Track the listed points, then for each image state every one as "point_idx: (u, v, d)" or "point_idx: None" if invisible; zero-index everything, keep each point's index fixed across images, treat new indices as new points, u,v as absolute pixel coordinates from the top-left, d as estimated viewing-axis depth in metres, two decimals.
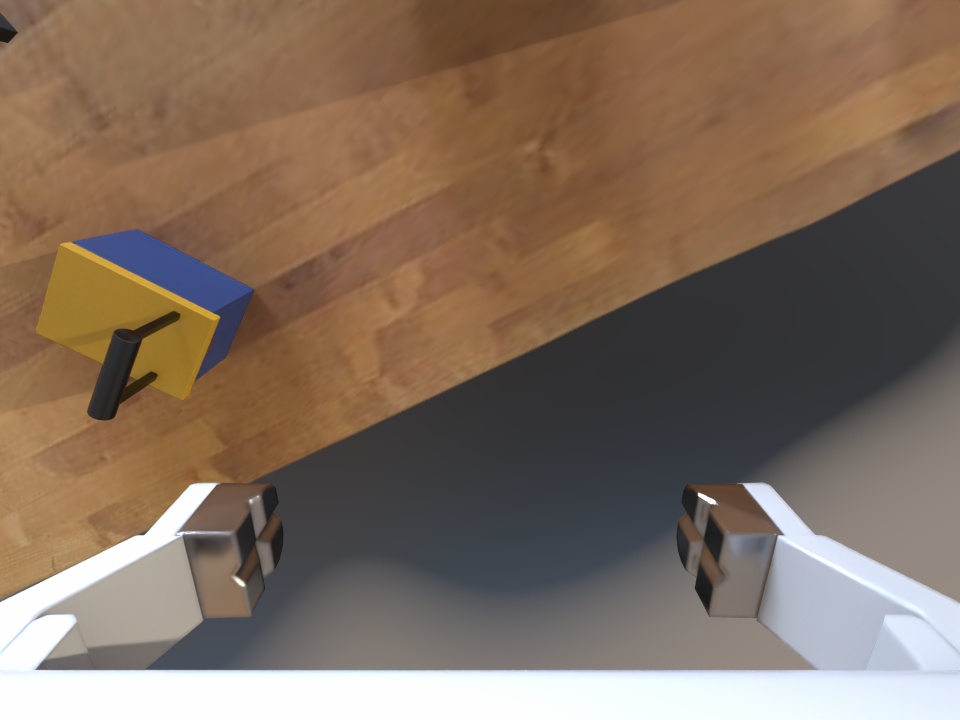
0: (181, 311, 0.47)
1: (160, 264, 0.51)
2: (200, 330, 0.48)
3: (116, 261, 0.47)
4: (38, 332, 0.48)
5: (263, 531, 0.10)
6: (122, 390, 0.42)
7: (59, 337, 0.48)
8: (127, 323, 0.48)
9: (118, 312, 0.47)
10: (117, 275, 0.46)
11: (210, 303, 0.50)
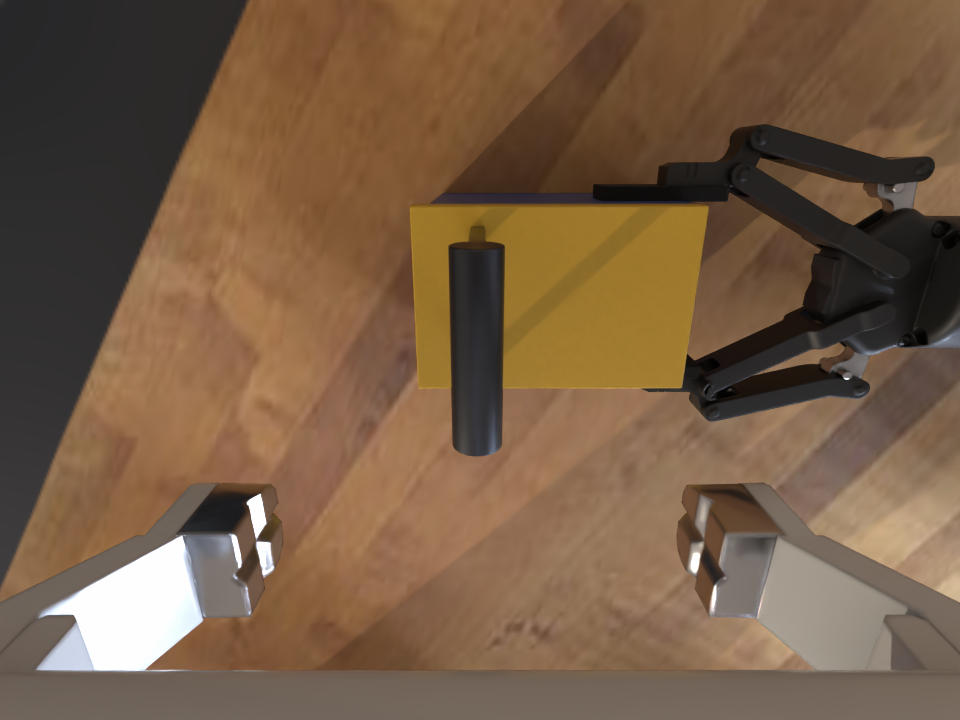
0: None
1: None
2: (432, 361, 0.27)
3: None
4: (702, 210, 0.24)
5: (263, 531, 0.10)
6: (450, 328, 0.19)
7: (662, 220, 0.24)
8: (551, 311, 0.26)
9: (569, 323, 0.26)
10: (584, 385, 0.27)
11: None
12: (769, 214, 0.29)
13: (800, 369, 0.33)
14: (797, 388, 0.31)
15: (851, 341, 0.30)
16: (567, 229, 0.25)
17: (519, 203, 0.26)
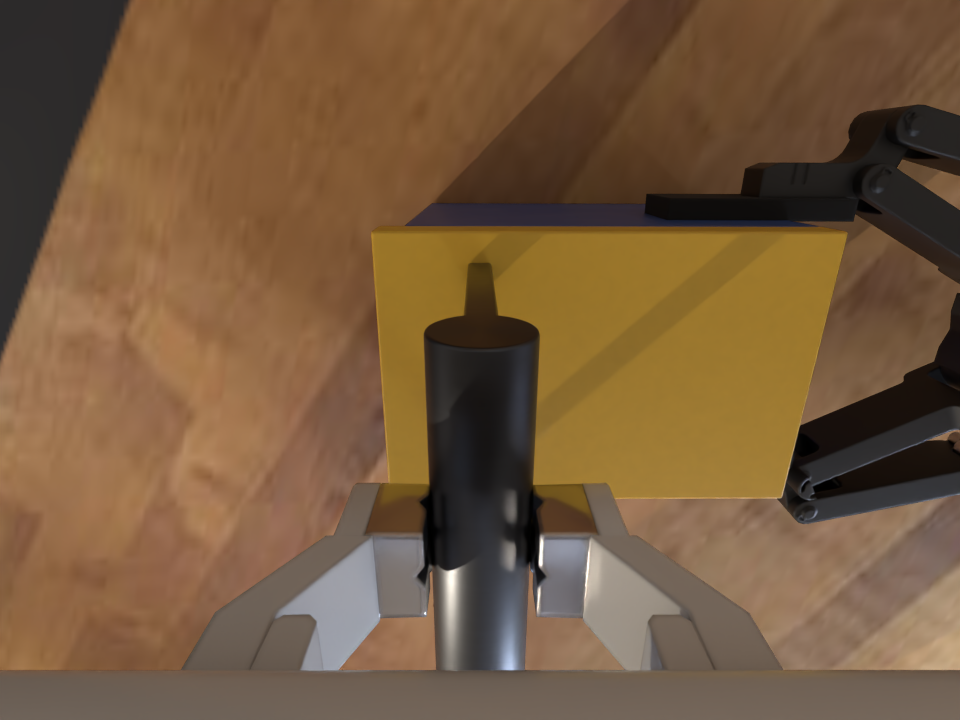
0: None
1: None
2: (409, 461, 0.18)
3: None
4: (837, 239, 0.15)
5: None
6: (429, 482, 0.10)
7: (772, 255, 0.15)
8: (591, 390, 0.17)
9: (619, 408, 0.17)
10: (638, 494, 0.18)
11: None
12: (900, 238, 0.20)
13: (924, 449, 0.24)
14: (928, 481, 0.22)
15: None
16: (621, 267, 0.16)
17: (544, 225, 0.17)
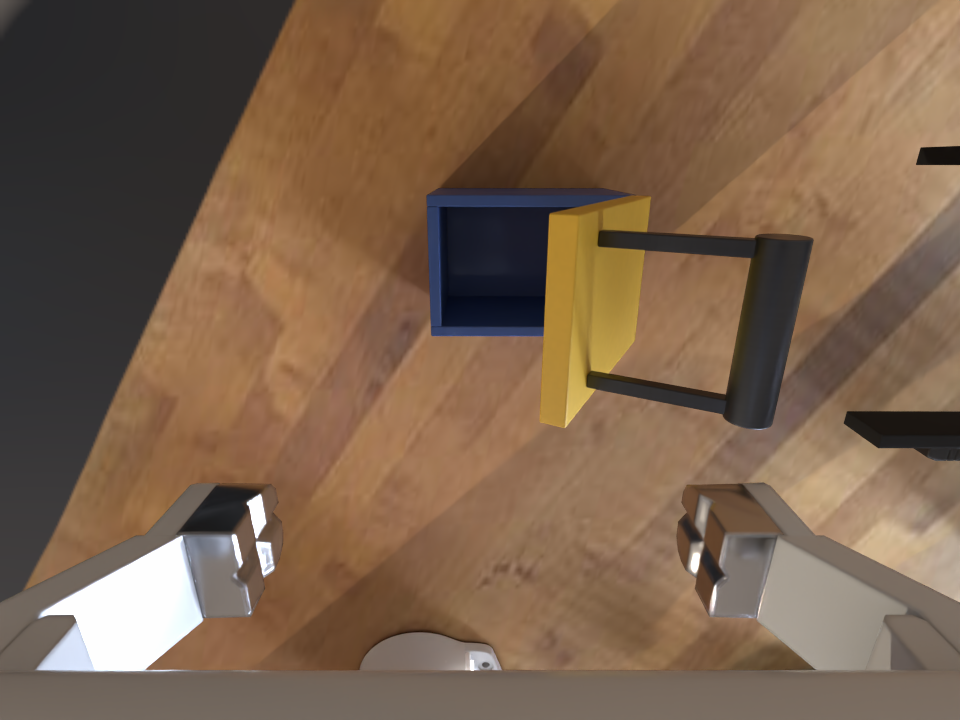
0: (586, 392, 0.26)
1: None
2: (573, 390, 0.23)
3: None
4: (649, 199, 0.31)
5: (263, 531, 0.10)
6: (771, 318, 0.20)
7: (642, 210, 0.30)
8: (613, 303, 0.28)
9: (616, 311, 0.29)
10: (615, 362, 0.31)
11: None
12: None
13: None
14: None
15: None
16: (623, 224, 0.27)
17: (497, 194, 0.33)
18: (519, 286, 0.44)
